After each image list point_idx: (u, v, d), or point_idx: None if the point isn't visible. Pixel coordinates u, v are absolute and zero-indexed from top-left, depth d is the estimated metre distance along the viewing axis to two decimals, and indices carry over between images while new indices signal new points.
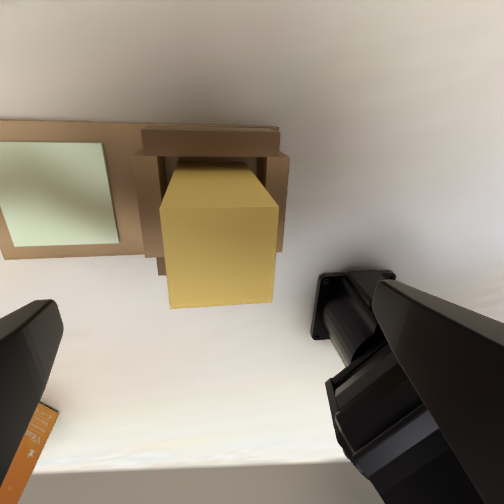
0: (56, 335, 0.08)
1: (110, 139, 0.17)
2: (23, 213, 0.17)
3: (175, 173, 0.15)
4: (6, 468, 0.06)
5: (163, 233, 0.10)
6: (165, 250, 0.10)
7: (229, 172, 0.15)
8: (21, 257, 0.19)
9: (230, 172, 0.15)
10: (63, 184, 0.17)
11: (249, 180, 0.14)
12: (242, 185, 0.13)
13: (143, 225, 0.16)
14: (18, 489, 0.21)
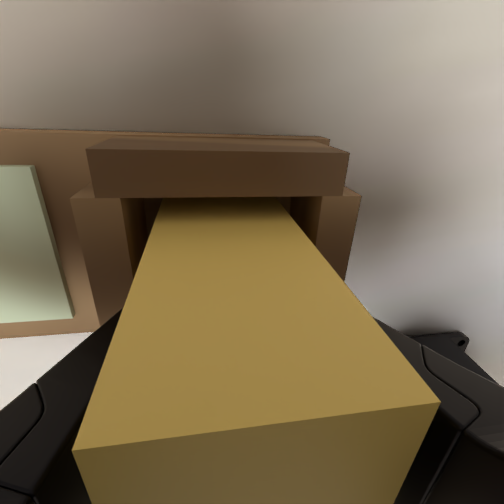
0: None
1: (47, 160, 0.10)
2: None
3: (155, 230, 0.08)
4: None
5: (94, 499, 0.03)
6: None
7: (254, 224, 0.09)
8: None
9: (256, 224, 0.09)
10: None
11: (300, 251, 0.07)
12: (294, 274, 0.06)
13: (101, 312, 0.09)
14: None
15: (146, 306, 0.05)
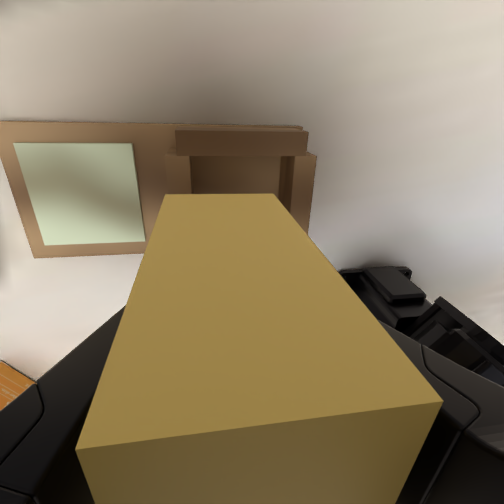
0: None
1: (139, 140, 0.17)
2: (54, 212, 0.18)
3: (157, 230, 0.08)
4: None
5: (97, 498, 0.03)
6: None
7: (256, 223, 0.09)
8: (50, 255, 0.19)
9: (257, 223, 0.09)
10: (93, 184, 0.17)
11: (302, 251, 0.07)
12: (295, 273, 0.06)
13: None
14: None
15: (148, 305, 0.05)
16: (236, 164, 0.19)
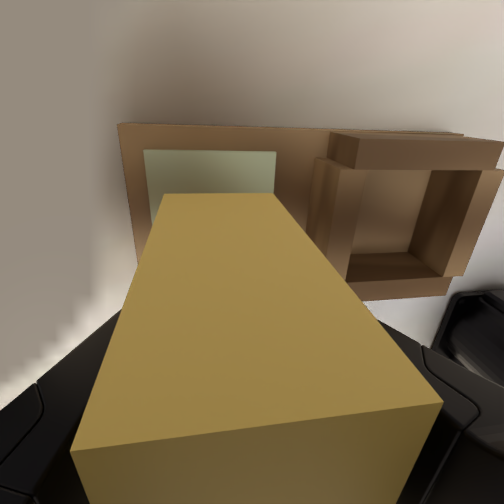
0: None
1: (283, 148, 0.14)
2: None
3: (155, 229, 0.08)
4: None
5: (93, 500, 0.03)
6: None
7: (255, 223, 0.08)
8: None
9: (257, 223, 0.08)
10: None
11: (301, 250, 0.07)
12: (294, 272, 0.06)
13: (330, 248, 0.14)
14: None
15: (145, 305, 0.05)
16: (382, 176, 0.16)
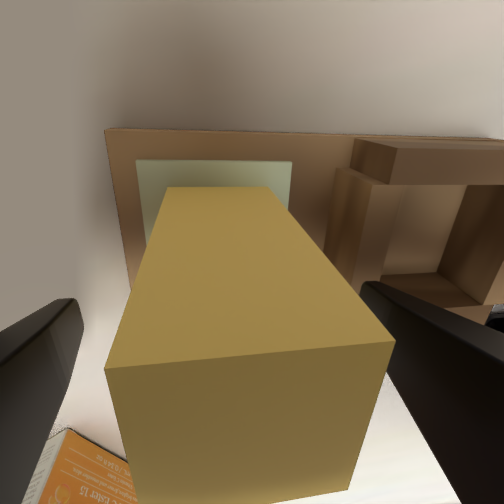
0: (78, 333, 0.08)
1: (300, 157, 0.12)
2: None
3: (161, 216, 0.09)
4: (35, 463, 0.06)
5: (119, 414, 0.04)
6: (126, 443, 0.04)
7: (250, 211, 0.09)
8: None
9: (252, 211, 0.09)
10: None
11: (290, 234, 0.08)
12: (283, 251, 0.07)
13: (356, 276, 0.12)
14: None
15: (155, 274, 0.06)
16: (413, 189, 0.14)
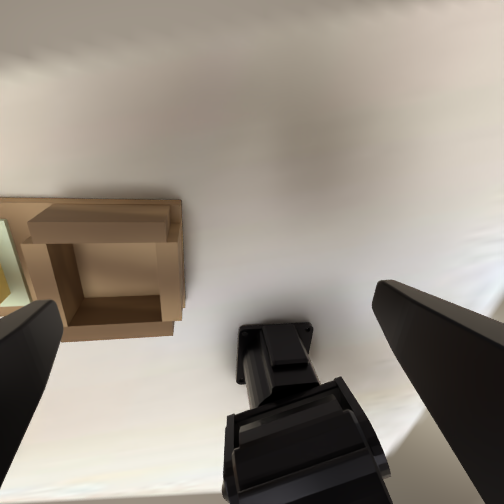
0: (56, 335, 0.08)
1: (14, 216, 0.18)
2: None
3: None
4: (6, 467, 0.06)
5: None
6: None
7: None
8: None
9: None
10: None
11: None
12: None
13: None
14: None
15: None
16: None
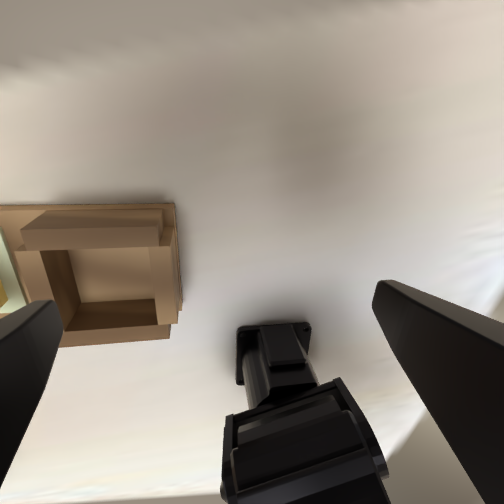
0: (56, 335, 0.08)
1: (8, 224, 0.18)
2: None
3: None
4: (6, 468, 0.06)
5: None
6: None
7: None
8: None
9: None
10: None
11: None
12: None
13: None
14: None
15: None
16: None
